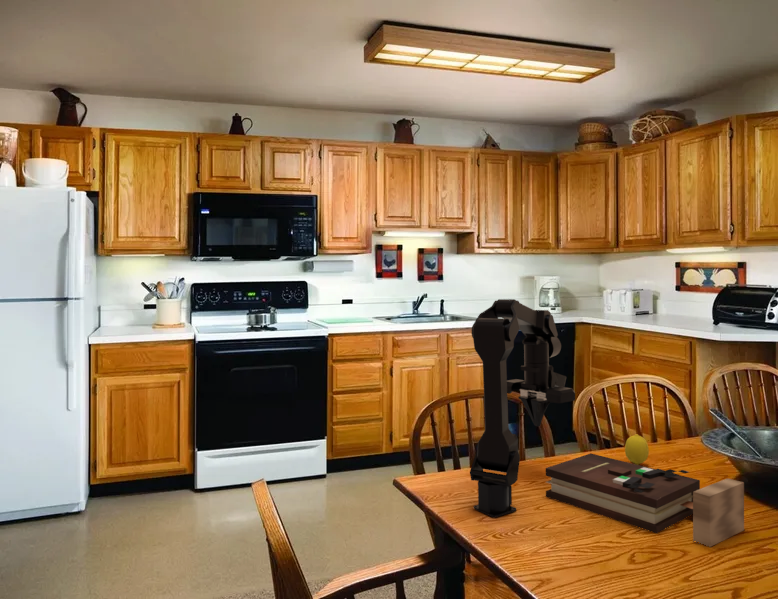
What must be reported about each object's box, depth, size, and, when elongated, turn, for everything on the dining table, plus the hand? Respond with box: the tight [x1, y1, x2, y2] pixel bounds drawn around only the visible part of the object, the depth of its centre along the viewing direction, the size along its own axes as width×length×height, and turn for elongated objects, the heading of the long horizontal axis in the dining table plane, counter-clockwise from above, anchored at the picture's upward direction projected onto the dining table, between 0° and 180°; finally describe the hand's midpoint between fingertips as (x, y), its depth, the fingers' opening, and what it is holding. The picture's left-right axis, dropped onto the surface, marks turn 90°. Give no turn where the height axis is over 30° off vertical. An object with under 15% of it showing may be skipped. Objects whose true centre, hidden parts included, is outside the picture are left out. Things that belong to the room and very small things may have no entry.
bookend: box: [692, 477, 745, 548], centre depth 111 cm, size 12×3×9 cm, turn 124°
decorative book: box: [545, 452, 701, 534], centre depth 128 cm, size 19×8×30 cm
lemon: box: [624, 433, 650, 465], centre depth 153 cm, size 6×6×8 cm
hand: (537, 425), depth 147 cm, fingers closed
